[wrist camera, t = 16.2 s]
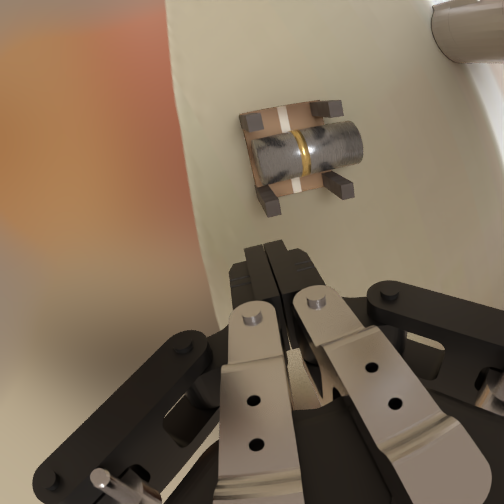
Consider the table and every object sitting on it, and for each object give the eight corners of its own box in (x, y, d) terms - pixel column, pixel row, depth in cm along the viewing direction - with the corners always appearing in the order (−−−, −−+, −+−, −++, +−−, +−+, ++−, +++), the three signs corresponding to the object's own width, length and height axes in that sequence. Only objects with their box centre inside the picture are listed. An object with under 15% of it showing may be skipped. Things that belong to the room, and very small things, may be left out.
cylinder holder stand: (238, 114, 33) (245, 114, 26) (317, 100, 33) (340, 99, 26) (257, 198, 37) (268, 218, 31) (330, 182, 37) (354, 198, 31)
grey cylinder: (339, 119, 33) (358, 120, 28) (346, 160, 35) (366, 167, 31) (248, 138, 33) (255, 141, 28) (259, 181, 35) (267, 191, 30)
